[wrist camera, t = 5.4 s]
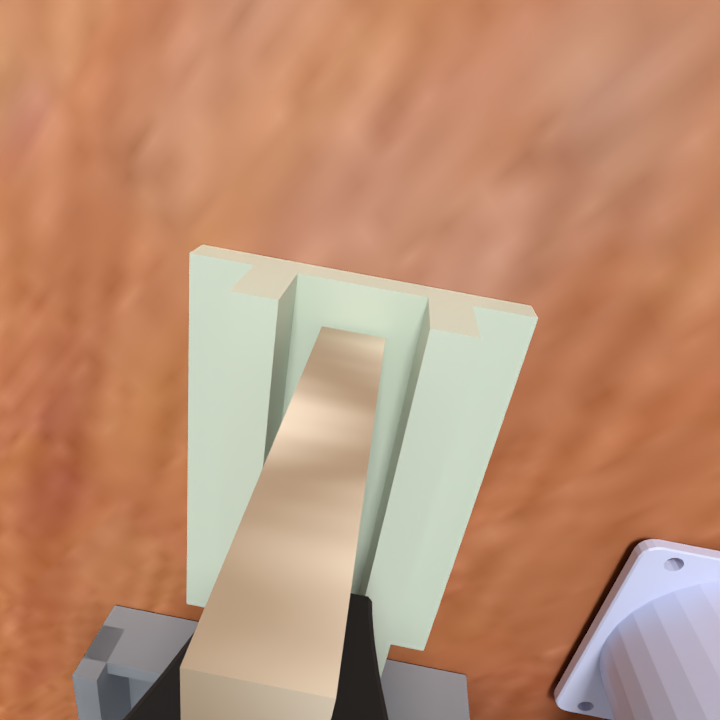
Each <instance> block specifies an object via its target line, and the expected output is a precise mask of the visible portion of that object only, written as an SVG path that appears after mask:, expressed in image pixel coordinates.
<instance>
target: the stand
mask: <svg viewBox="0 0 720 720" xmlns="http://www.w3.org/2000/svg"><path fill="white" fill-rule="evenodd" d="M537 320H538V317H537V315H536V313H535V312H534V310H533V308H532V306H530V305H525V304H519V303H514V302H509V301H503V300H498V299H493V298H487V297H482V296H476V295H471V294H466V293H460V292H455V291H450V290H444V289H439V288H434V287H428V286H423V285H417V284H412V283H407V282H401V281H396V280H391V279H385V278H380V277H374V276H369V275H364V274H358V273H353V272H348V271H342V270H337V269H332V268H326V267H321V266H315V265H310V264H305V263H299V262H294V261H289V260H283V259H278V258H272V257H267V256H262V255H256V254H251V253H246V252H240V251H235V250H230V249H224V248H219V247H213V246H208V245H201V246H200V247H198V248H197V249H195V250H194V251H192V252H190V266H189V385H188V503H187V604H190V605H195V606H200V607H205V606H206V603H207V601H208V599H209V596H210V594H211V591H212V589H213V587H214V584H215V582H216V579H217V577H218V575H219V572H220V570H221V567H222V565H223V563H224V560H225V558H226V555H227V553H228V551H229V548H230V546H231V543H232V541H233V539H234V536H235V534H236V531H237V529H238V527H239V524H240V522H241V519H242V517H243V515H244V512H245V510H246V507H247V505H248V503H249V500H250V498H251V495H252V493H253V491H254V488H255V486H256V483H257V481H258V479H259V476H260V474H261V471H262V469H263V466H264V464H265V462H266V459H267V457H268V454H269V452H270V450H271V447H272V445H273V442H274V440H275V438H276V435H277V433H278V430H279V428H280V426H281V423H282V421H283V418H284V416H285V414H286V411H287V409H288V406H289V404H290V402H291V399H292V397H293V394H294V392H295V390H296V387H297V385H298V382H299V380H300V378H301V375H302V373H303V370H304V368H305V366H306V363H307V361H308V358H309V356H310V354H311V351H312V349H313V346H314V344H315V342H316V339H317V337H318V334H319V332H320V330H321V327H322V326H323V327H329V328H334V329H339V330H345V331H350V332H355V333H361V334H366V335H371V336H376V337H382V338H385V346H384V353H383V360H382V368H381V375H380V382H379V389H378V397H377V404H376V411H375V419H374V426H373V433H372V440H371V448H370V455H369V462H368V469H367V477H366V484H365V491H364V499H363V506H362V513H361V520H360V528H359V535H358V542H357V550H356V557H355V564H354V571H353V579H352V586H351V593H353V594H358V595H363V596H368V597H369V598H370V599H371V601H372V615H373V629H374V639H375V647H376V654H377V661H378V667H379V674H380V679H381V676H382V672H383V669H384V665H385V662H386V659H387V655H388V652H389V648H390V645H391V644H392V645H397V646H402V647H407V648H412V649H417V650H422V651H424V648H425V645H426V642H427V639H428V636H429V634H430V631H431V628H432V625H433V622H434V619H435V616H436V613H437V610H438V607H439V605H440V602H441V599H442V596H443V593H444V590H445V587H446V584H447V581H448V578H449V576H450V573H451V570H452V567H453V564H454V561H455V558H456V555H457V552H458V549H459V547H460V544H461V541H462V538H463V535H464V532H465V529H466V526H467V523H468V520H469V518H470V515H471V512H472V509H473V506H474V503H475V500H476V497H477V494H478V491H479V488H480V486H481V483H482V480H483V477H484V474H485V471H486V468H487V465H488V462H489V459H490V457H491V454H492V451H493V448H494V445H495V442H496V439H497V436H498V433H499V430H500V428H501V425H502V422H503V419H504V416H505V413H506V410H507V407H508V404H509V401H510V399H511V396H512V393H513V390H514V387H515V384H516V381H517V378H518V375H519V372H520V370H521V367H522V364H523V361H524V358H525V355H526V352H527V349H528V346H529V343H530V341H531V338H532V335H533V332H534V329H535V326H536V323H537Z"/></svg>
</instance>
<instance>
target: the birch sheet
mask: <svg viewBox="0 0 720 720" xmlns="http://www.w3.org/2000/svg"><path fill="white" fill-rule="evenodd" d="M384 346H385V338H382V337H376V336H371V335H366V334H361V333H355V332H350V331H345V330H339V329H334V328H329V327H323V326H322V327H321V330H320V332H319V334H318V337H317V339H316V342H315V344H314V346H313V349H312V351H311V354H310V356H309V358H308V361H307V363H306V366H305V368H304V370H303V373H302V375H301V378H300V380H299V382H298V385H297V387H296V390H295V392H294V394H293V397H292V399H291V402H290V404H289V406H288V409H287V411H286V414H285V416H284V418H283V421H282V423H281V426H280V428H279V430H278V433H277V435H276V438H275V440H274V442H273V445H272V447H271V450H270V452H269V454H268V457H267V459H266V462H265V464H264V466H263V469H262V471H261V474H260V476H259V479H258V481H257V483H256V486H255V488H254V491H253V493H252V495H251V498H250V500H249V503H248V505H247V507H246V510H245V512H244V515H243V517H242V519H241V522H240V524H239V527H238V529H237V531H236V534H235V536H234V539H233V541H232V543H231V546H230V548H229V551H228V553H227V555H226V558H225V560H224V563H223V565H222V567H221V570H220V572H219V575H218V577H217V579H216V582H215V584H214V587H213V589H212V591H211V594H210V596H209V599H208V601H207V603H206V606H205V608H204V611H203V613H202V615H201V618H200V620H199V623H198V625H197V627H196V630H195V632H194V635H193V637H192V640H191V642H190V644H189V647H188V649H187V652H186V654H185V656H184V659H183V661H182V664H181V666H180V706H181V720H331V717H332V713H333V709H334V705H335V701H336V695H337V688H338V680H339V673H340V666H341V659H342V651H343V644H344V637H345V630H346V622H347V615H348V608H349V600H350V593H351V586H352V579H353V571H354V564H355V557H356V550H357V542H358V535H359V528H360V520H361V513H362V506H363V499H364V491H365V484H366V477H367V469H368V462H369V455H370V448H371V440H372V433H373V426H374V419H375V411H376V404H377V397H378V389H379V382H380V375H381V368H382V360H383V353H384Z"/></svg>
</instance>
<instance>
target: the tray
mask: <svg viewBox="0 0 720 720" xmlns="http://www.w3.org/2000/svg"><path fill="white" fill-rule="evenodd" d="M198 623H199V622H196V621H191V620H186V619H181V618H176V617H171V616H166V615H161V614H156V613H151V612H146V611H141V610H136V609H131V608H126V607H121V606H116V605H115V606H114V607H113V609H112V611H111V612H110V614H109V616H108V617H107V619H106V621H105V622H104V624H103V626H102V627H101V629H100V631H99V632H98V634H97V636H96V637H95V639H94V640H93V642H92V644H91V645H90V647H89V649H88V650H87V652H86V654H85V655H84V657H83V659H82V660H81V662H80V664H79V665H78V667H77V669H76V670H75V672H74V674H73V675H72V678H73V684H74V690H75V697H76V703H77V709H78V716H79V720H123V719H124V718H125V717H126V715H127V714H128V713H129V712H130V711H131V710H132V708H133V707H134V706H135V705H136V704H137V703H138V701H139V700H140V699H141V698H142V697H143V695H144V694H145V693H146V692H147V691H148V690H149V688H150V687H151V686H152V685H153V684H154V682H155V681H156V680H157V679H158V678H159V677H160V675H161V674H162V673H163V672H164V670H165V669H166V668H167V667H168V665H169V664H170V663H171V661H172V660H173V659H174V658H175V656H176V655H177V654H178V652H179V651H180V650H181V648H182V647H183V646H184V645H185V643H186V642H187V641H188V639H189V638H190V637H191V635H192V634H193V633H194V631H195V630H196V627H197V625H198ZM381 685H382V690H383V695H384V700H385V705H386V709H387V714H388V719H389V720H470V716H469V704H468V692H467V681H466V675H463V674H458V673H453V672H448V671H443V670H438V669H433V668H428V667H423V666H418V665H413V664H408V663H403V662H398V661H393V660H388V659H386V662H385V665H384V669H383V672H382V676H381Z"/></svg>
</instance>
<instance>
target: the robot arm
mask: <svg viewBox="0 0 720 720" xmlns="http://www.w3.org/2000/svg"><path fill="white" fill-rule="evenodd" d="M671 558H674V559H671ZM668 559H671V560H668ZM194 632H195V631H194ZM193 635H194V633H193V634H192V635H191V637H190V638H189V639H188V641H187V642H186V643H185V645H184V646H183V647H182V648H181V650H180V651H179V652H178V654H177V655H176V656H175V658H174V659H173V660H172V661H171V663H170V664H169V665H168V667H167V668H166V669H165V670H164V672H163V673H162V674H161V675H160V677H159V678H158V679H157V680H156V681H155V682H154V684H153V685H152V686H151V687H150V688H149V690H148V691H147V692H146V693H145V694H144V695H143V697H142V698H141V699H140V700H139V701H138V703H137V704H136V705H135V706H134V707H133V708H132V710H131V711H130V712H129V713H128V714H127V715H126V717H125V718H124V719H123V720H181V706H180V666H181V664H182V661H183V659H184V656H185V654H186V652H187V649H188V647H189V644H190V642H191V640H192V637H193ZM554 697H555V701H556V704H557V706H558V707H560V708H561V709H563V710H566V711H570V712H575V713H580V714H585V715H590V716H595V717H600V718H605V719H610V720H720V551H717V550H712V549H706V548H701V547H696V546H691V545H686V544H680V543H675V542H670V541H665V540H660V539H648V540H644V541H642V542H640V543H639V544H638V545H637V546H636V547H635V548H634V550H633V551H632V553H631V555H630V557H629V559H628V560H627V562H626V564H625V566H624V567H623V569H622V571H621V573H620V575H619V576H618V578H617V580H616V582H615V583H614V585H613V587H612V589H611V591H610V592H609V594H608V596H607V598H606V600H605V601H604V603H603V605H602V607H601V608H600V610H599V612H598V614H597V616H596V617H595V619H594V621H593V623H592V624H591V626H590V628H589V630H588V632H587V633H586V635H585V637H584V639H583V640H582V642H581V644H580V646H579V648H578V649H577V651H576V653H575V655H574V656H573V658H572V660H571V662H570V664H569V665H568V667H567V669H566V671H565V673H564V674H563V676H562V678H561V680H560V681H559V683H558V685H557V687H556V689H555V690H554ZM331 720H389V719H388V714H387V709H386V705H385V700H384V695H383V690H382V685H381V679H380V674H379V667H378V661H377V654H376V647H375V639H374V629H373V615H372V601H371V599H370V598H369V597H368V596H363V595H358V594H353V593H350V600H349V608H348V615H347V622H346V630H345V637H344V644H343V651H342V659H341V666H340V673H339V680H338V688H337V695H336V701H335V705H334V709H333V713H332V717H331Z"/></svg>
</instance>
